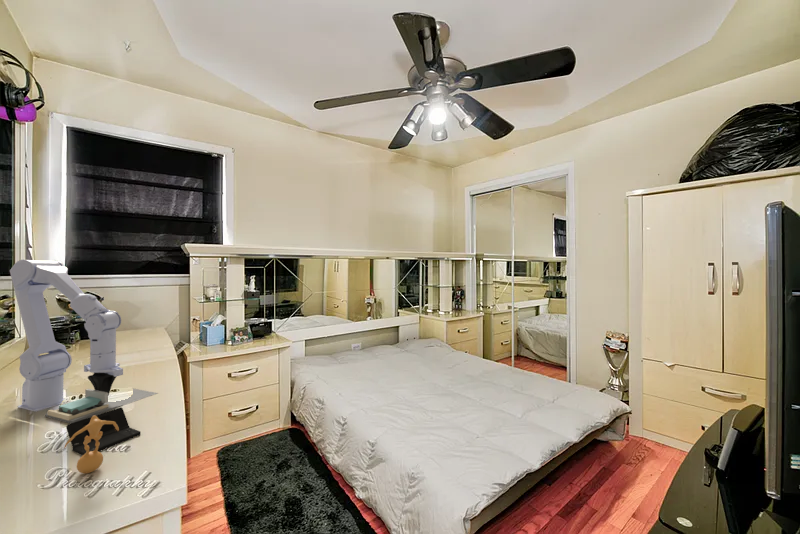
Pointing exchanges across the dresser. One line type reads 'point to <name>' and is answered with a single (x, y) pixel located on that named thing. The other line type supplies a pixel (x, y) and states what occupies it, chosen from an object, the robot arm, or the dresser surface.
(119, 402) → the dock
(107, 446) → the handheld gaming console
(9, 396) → the dresser surface
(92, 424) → the figurine
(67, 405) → the grey teal-panelled part
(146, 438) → the dresser surface
